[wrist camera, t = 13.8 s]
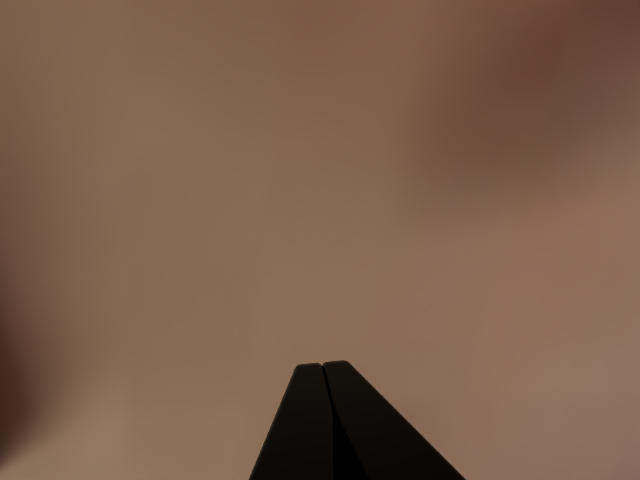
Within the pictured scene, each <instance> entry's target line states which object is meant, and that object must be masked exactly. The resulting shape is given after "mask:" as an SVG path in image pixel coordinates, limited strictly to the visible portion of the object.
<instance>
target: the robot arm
mask: <svg viewBox="0 0 640 480" xmlns="http://www.w3.org/2000/svg"><path fill="white" fill-rule="evenodd" d="M249 480H466V479H465V478H464V477H463V476H462V475H461V474H460V473H459V472H458V471H457V470H456V469H455V468H454V467H453V466H452V465H451V464H450V463H449V462H448V461H447V460H446V459H445V458H444V457H443V456H442V455H441V454H440V453H439V452H438V451H437V450H436V449H435V448H434V447H433V446H432V445H431V444H430V443H429V442H428V441H427V440H426V439H425V438H424V437H423V436H422V435H421V434H420V433H419V432H418V431H417V430H416V429H415V428H414V427H413V426H412V425H411V424H410V423H409V422H408V421H407V420H406V419H405V418H404V417H403V416H402V415H401V414H400V413H399V412H398V411H397V410H396V409H395V408H394V407H393V406H392V405H391V404H390V403H389V402H388V401H387V400H386V399H385V398H384V397H383V396H382V395H381V394H380V393H379V392H378V391H377V390H376V389H375V388H374V387H373V386H372V385H371V384H370V383H369V382H368V381H367V380H366V379H365V378H364V377H363V376H362V375H361V374H360V373H359V372H358V371H357V370H356V369H355V368H354V367H353V366H352V365H351V364H350V363H349V362H348V361H345V360H342V361H331V362H325V363H323V365H321V364H320V363H309V364H299V365H297V366H296V368H295V370H294V372H293V375H292V377H291V379H290V382H289V384H288V387H287V389H286V391H285V394H284V396H283V398H282V401H281V403H280V406H279V408H278V410H277V413H276V415H275V418H274V420H273V422H272V425H271V427H270V430H269V432H268V434H267V437H266V439H265V442H264V444H263V446H262V449H261V451H260V454H259V456H258V458H257V461H256V463H255V466H254V468H253V470H252V473H251V475H250V478H249Z"/></svg>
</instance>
